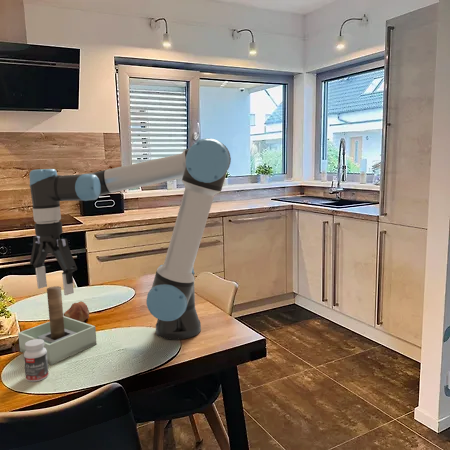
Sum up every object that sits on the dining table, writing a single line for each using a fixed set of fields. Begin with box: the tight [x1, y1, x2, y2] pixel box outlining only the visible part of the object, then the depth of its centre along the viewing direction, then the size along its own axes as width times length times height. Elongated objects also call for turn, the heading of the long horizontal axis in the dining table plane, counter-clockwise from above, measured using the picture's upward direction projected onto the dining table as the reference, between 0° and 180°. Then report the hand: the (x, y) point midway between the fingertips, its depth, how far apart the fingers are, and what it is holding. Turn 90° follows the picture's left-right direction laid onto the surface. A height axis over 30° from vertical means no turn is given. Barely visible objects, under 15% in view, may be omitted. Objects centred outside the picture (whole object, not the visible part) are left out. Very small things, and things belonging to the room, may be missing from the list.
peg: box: [46, 285, 65, 340], centre depth 131 cm, size 4×4×18 cm
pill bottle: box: [23, 339, 49, 383], centre depth 114 cm, size 6×6×10 cm
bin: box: [17, 315, 97, 366], centre depth 132 cm, size 16×16×6 cm
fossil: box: [63, 301, 90, 323], centre depth 153 cm, size 13×8×10 cm
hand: (55, 290), depth 130 cm, fingers open, 13 cm apart
